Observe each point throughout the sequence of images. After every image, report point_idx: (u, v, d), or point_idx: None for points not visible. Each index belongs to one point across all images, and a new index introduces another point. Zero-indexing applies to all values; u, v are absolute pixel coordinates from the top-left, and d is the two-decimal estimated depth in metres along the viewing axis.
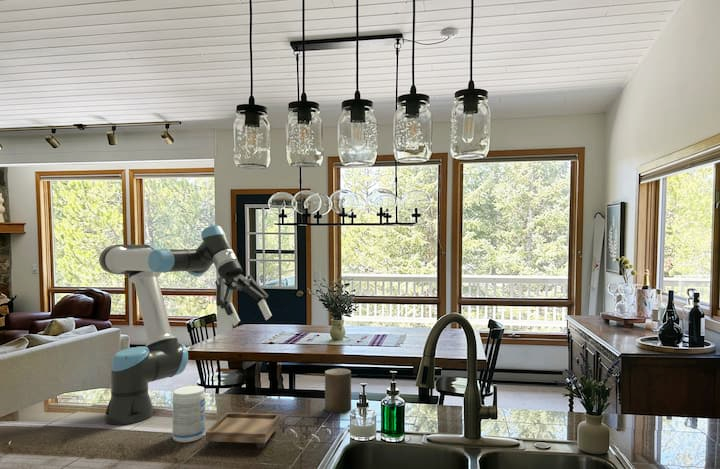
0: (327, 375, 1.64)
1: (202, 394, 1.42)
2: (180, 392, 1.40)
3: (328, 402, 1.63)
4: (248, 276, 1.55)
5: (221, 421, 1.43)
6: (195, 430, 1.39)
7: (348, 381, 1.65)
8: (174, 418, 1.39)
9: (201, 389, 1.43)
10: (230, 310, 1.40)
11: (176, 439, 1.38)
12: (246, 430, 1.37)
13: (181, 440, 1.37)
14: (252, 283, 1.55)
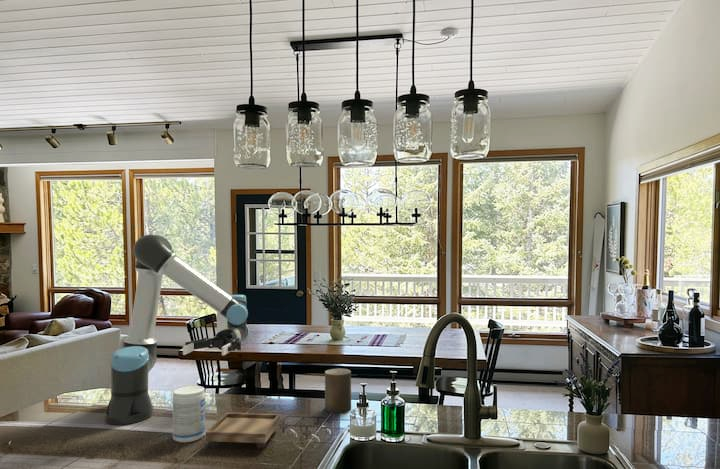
0: (327, 375, 1.64)
1: (202, 394, 1.42)
2: (180, 392, 1.40)
3: (328, 402, 1.63)
4: None
5: (221, 421, 1.43)
6: (195, 430, 1.39)
7: (348, 381, 1.65)
8: (174, 418, 1.39)
9: (201, 389, 1.43)
10: None
11: (176, 439, 1.38)
12: (246, 430, 1.37)
13: (181, 440, 1.37)
14: None
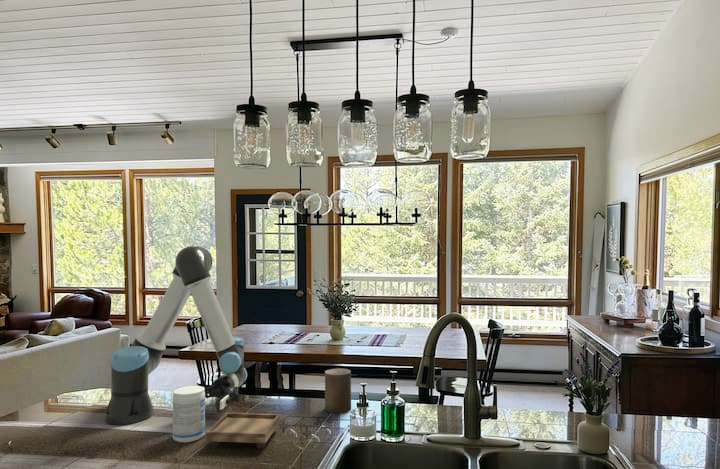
0: (327, 375, 1.64)
1: (202, 394, 1.42)
2: (180, 392, 1.40)
3: (328, 402, 1.63)
4: None
5: (221, 421, 1.43)
6: (195, 430, 1.39)
7: (348, 381, 1.65)
8: (174, 418, 1.39)
9: (201, 389, 1.43)
10: None
11: (176, 439, 1.38)
12: (246, 430, 1.37)
13: (181, 440, 1.37)
14: None
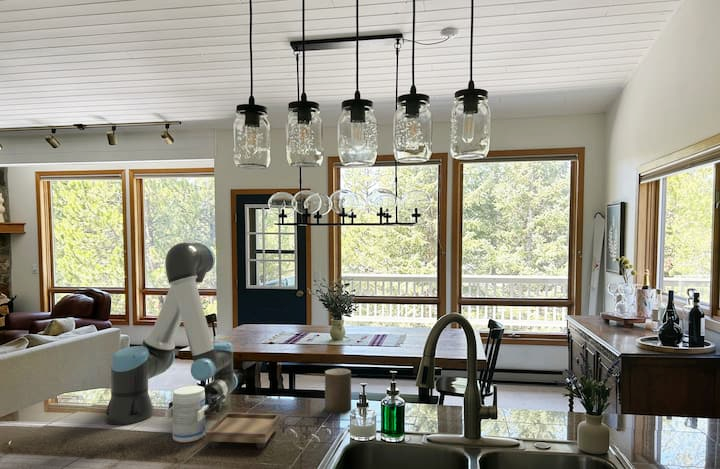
0: (327, 375, 1.64)
1: (202, 394, 1.42)
2: (180, 392, 1.40)
3: (328, 402, 1.63)
4: None
5: (221, 421, 1.43)
6: (195, 430, 1.39)
7: (348, 381, 1.65)
8: (174, 418, 1.39)
9: (201, 389, 1.43)
10: None
11: (176, 439, 1.38)
12: (246, 430, 1.37)
13: (181, 440, 1.37)
14: None
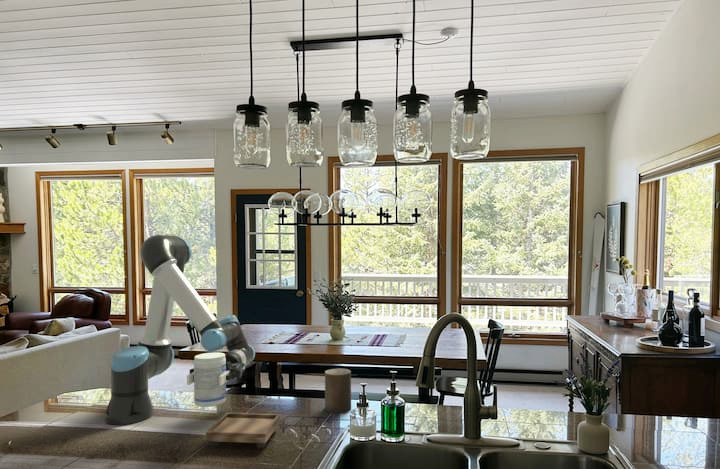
0: (327, 375, 1.64)
1: (223, 359, 1.42)
2: (201, 357, 1.40)
3: (328, 402, 1.63)
4: None
5: (221, 421, 1.43)
6: (217, 395, 1.38)
7: (348, 381, 1.65)
8: (196, 383, 1.39)
9: (222, 355, 1.43)
10: None
11: (198, 403, 1.38)
12: (246, 430, 1.37)
13: (203, 404, 1.37)
14: None
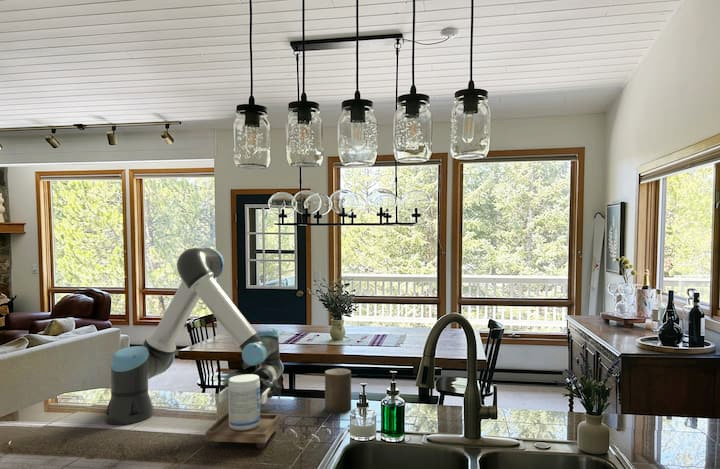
0: (327, 375, 1.64)
1: (258, 382, 1.40)
2: (236, 380, 1.38)
3: (328, 402, 1.63)
4: None
5: (221, 421, 1.43)
6: (252, 418, 1.37)
7: (348, 381, 1.65)
8: (231, 406, 1.37)
9: (256, 377, 1.41)
10: None
11: (233, 427, 1.36)
12: (246, 430, 1.37)
13: (239, 428, 1.36)
14: None
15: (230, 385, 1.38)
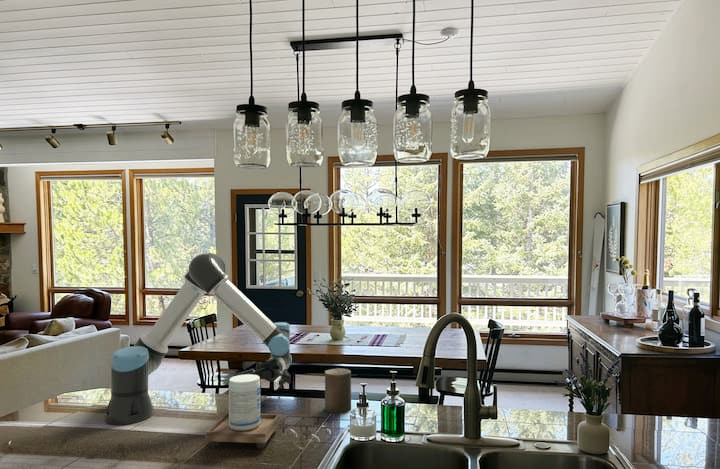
0: (327, 375, 1.64)
1: (258, 382, 1.40)
2: (237, 380, 1.38)
3: (328, 402, 1.63)
4: None
5: (221, 421, 1.43)
6: (252, 418, 1.37)
7: (348, 381, 1.65)
8: (231, 406, 1.37)
9: (257, 377, 1.41)
10: None
11: (233, 427, 1.36)
12: (246, 430, 1.37)
13: (239, 428, 1.36)
14: None
15: (230, 385, 1.38)
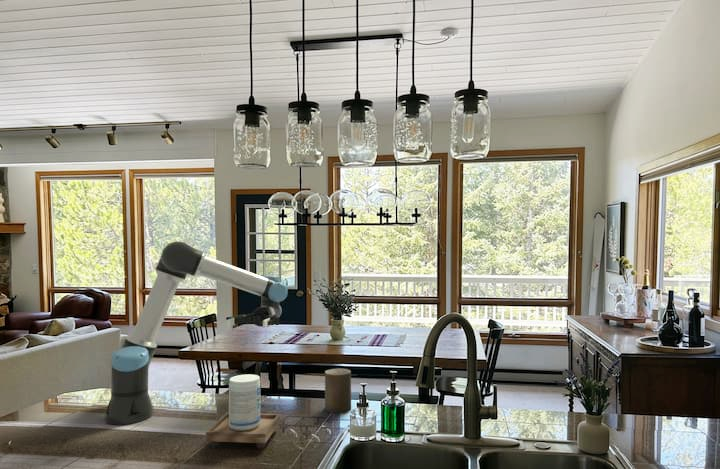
0: (327, 375, 1.64)
1: (258, 382, 1.40)
2: (237, 380, 1.38)
3: (328, 402, 1.63)
4: None
5: (221, 421, 1.43)
6: (252, 418, 1.37)
7: (348, 381, 1.65)
8: (231, 406, 1.37)
9: (257, 377, 1.41)
10: (269, 324, 1.65)
11: (233, 427, 1.36)
12: (246, 430, 1.37)
13: (239, 428, 1.36)
14: None
15: (231, 385, 1.38)
